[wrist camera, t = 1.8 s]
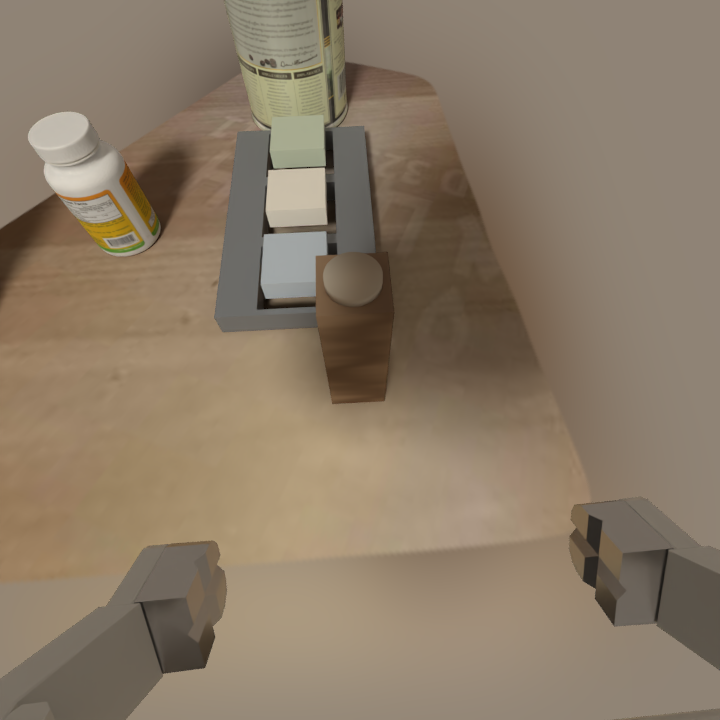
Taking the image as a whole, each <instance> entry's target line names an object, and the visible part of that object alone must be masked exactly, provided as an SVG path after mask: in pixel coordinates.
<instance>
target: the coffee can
mask: <svg viewBox="0 0 720 720" xmlns="http://www.w3.org/2000/svg"><path fill="white" fill-rule="evenodd" d="M224 3H225V7H226V11H227V15H228V18H229V23H230V27H231V30H232V34H233V38H234V42H235V47H236V51H237V55H238V58H239V62H240V66H241V70H242V74H243V78H244V82H245V86H246V90H247V94H248V98H249V102H250V106H251V110H252V117H253V120H254V122H255V123H256V125H257V126H258V127H259V128H260V129H261V130H263V131H265V130H271V126H272V117H288V116H310V115H324V126H325V128H331V127H337V126H338V125H339V124H340V123H341V122H342V121H343V119H344V118H345V116H346V113H347V108H348V105H347V97H346V74H345V52H344V30H343V5H342V0H224Z"/></svg>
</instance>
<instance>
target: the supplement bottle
mask: <svg viewBox="0 0 720 720" xmlns="http://www.w3.org/2000/svg"><path fill="white" fill-rule="evenodd" d="M28 140H29V143H30V144H31V146H32V147H33V148H34V150H35V151H36V152H37V154H38V155H39V157H40V158H41V159H42V160H44V162H45V165H44V176H45V179H46V181H47V182H48V184H49V185H50V186H51V188H52V189H53V190H54V192H55V193H56V194H57V195H58V196H59V198H60V199H61V200H62V201H63V202H64V204H65V205H66V206H67V207H68V209H69V210H70V211H71V212H72V213H73V215H74V216H75V217H76V218H77V220H78V221H79V222H80V223H81V225H82V226H83V227H84V228H85V229H86V231H87V232H88V233H89V234H90V236H91V237H92V238H93V239H94V241H95V242H96V243H97V244H98V245H99V246H100V248H101V249H102V250H104V251H105V252H106V253H108V254H111V255H114V256H131V255H135V254H138V253H141V252H143V251H145V250H146V249H148V248H149V247H150V246H152V245H153V244H154V242H155V241H156V240H157V238H158V236H159V234H160V230H161V225H160V221H159V219H158V217H157V215H156V214H155V212H154V210H153V208H152V207H151V205H150V203H149V202H148V200H147V198H146V197H145V195H144V193H143V191H142V190H141V188H140V186H139V185H138V183H137V181H136V179H135V178H134V176H133V174H132V173H131V171H130V169H129V167H128V166H127V164H126V162H125V161H124V159H123V157H122V156H121V154H120V153H119V151H118V150H117V149H116V148H115V147H114V146H112V145H111V144H109V143H107V142H105V141H102V140H100V138H99V136H98V134H97V132H96V131H95V129H94V128H93V126H92V124H91V123H90V121H89V120H88V119H87V117H85V116H84V115H83V114H80V113H77V112H59V113H55V114H52V115H49V116H47V117H44V118H42V119H41V120H39V121H38V122H37V123H35V124H34V125H33V126H32V127H31V129H30V131H29V133H28Z"/></svg>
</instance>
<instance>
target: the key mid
mask: <svg viewBox="0 0 720 720" xmlns="http://www.w3.org/2000/svg"><path fill="white" fill-rule="evenodd" d="M266 214H267V218H268V221H269V225H270V227H289V226H309V225H327V187H326V175H325V168H306V169H284V170H268V184H267V199H266Z"/></svg>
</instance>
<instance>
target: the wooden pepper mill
mask: <svg viewBox="0 0 720 720" xmlns="http://www.w3.org/2000/svg"><path fill="white" fill-rule="evenodd" d="M316 319H317V325H318V330H319V335H320V340H321V346H322V351H323V356H324V361H325V367H326V372H327V377H328V382H329V388H330V393H331V398H332V403H333V404H339V403H357V402H375V401H384V400H385V391H386V382H387V373H388V364H389V355H390V346H391V337H392V328H393V319H394V306H393V297H392V288H391V279H390V270H389V261H388V252H382V253H360V252H347V253H343V254H340V255H321V256H316Z"/></svg>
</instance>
